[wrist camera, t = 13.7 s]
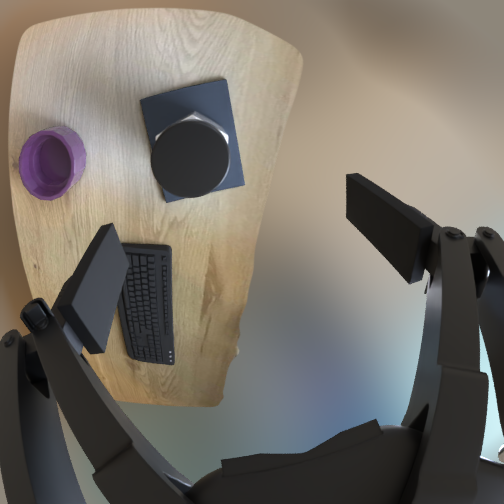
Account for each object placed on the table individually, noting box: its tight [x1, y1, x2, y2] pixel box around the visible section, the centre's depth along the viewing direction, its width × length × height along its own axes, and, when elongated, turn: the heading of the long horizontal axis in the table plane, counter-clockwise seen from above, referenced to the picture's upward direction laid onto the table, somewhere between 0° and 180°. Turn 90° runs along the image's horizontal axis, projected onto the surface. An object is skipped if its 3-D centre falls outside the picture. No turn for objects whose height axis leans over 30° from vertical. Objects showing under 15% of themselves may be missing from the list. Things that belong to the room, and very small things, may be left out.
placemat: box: [140, 79, 245, 203], centre depth 37 cm, size 16×12×1 cm
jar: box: [151, 111, 231, 198], centre depth 32 cm, size 9×8×12 cm
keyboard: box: [117, 243, 175, 365], centre depth 50 cm, size 30×11×2 cm, turn 171°
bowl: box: [19, 126, 86, 201], centre depth 32 cm, size 10×10×5 cm
